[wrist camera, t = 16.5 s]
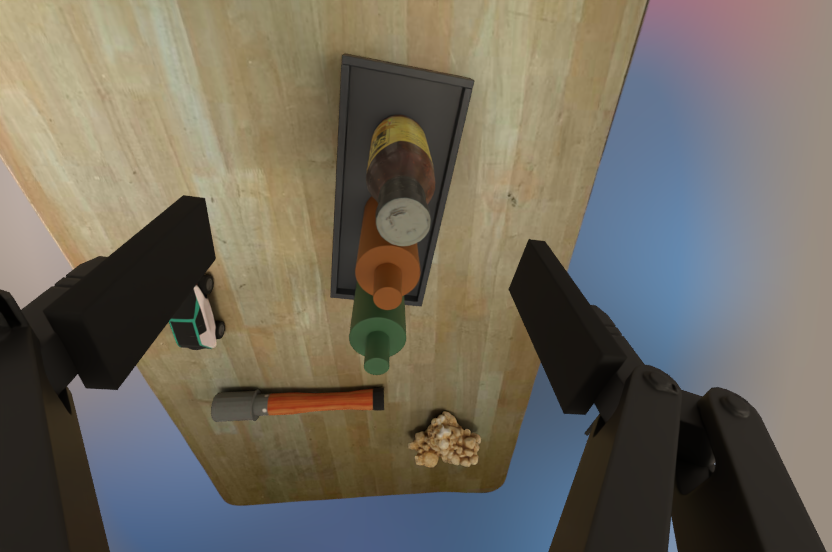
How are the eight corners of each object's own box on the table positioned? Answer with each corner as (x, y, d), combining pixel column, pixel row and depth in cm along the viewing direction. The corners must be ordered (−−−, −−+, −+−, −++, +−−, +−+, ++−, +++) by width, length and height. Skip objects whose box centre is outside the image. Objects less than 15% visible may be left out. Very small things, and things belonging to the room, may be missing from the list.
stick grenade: (383, 394, 63) (206, 402, 60) (384, 420, 65) (211, 429, 62) (383, 378, 68) (220, 385, 66) (383, 402, 70) (224, 410, 67)
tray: (344, 53, 37) (341, 54, 35) (470, 78, 39) (474, 80, 37) (332, 288, 54) (330, 297, 52) (420, 297, 56) (421, 306, 54)
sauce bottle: (375, 108, 39) (364, 164, 23) (430, 118, 40) (457, 180, 24) (368, 166, 43) (355, 250, 26) (419, 174, 44) (436, 261, 27)
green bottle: (360, 248, 49) (347, 342, 34) (406, 253, 50) (412, 347, 35) (356, 285, 53) (343, 384, 38) (399, 289, 54) (402, 388, 39)
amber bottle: (366, 186, 44) (354, 265, 29) (417, 193, 45) (429, 273, 30) (362, 231, 48) (349, 322, 33) (409, 237, 49) (416, 328, 34)
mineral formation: (438, 402, 71) (496, 426, 75) (404, 426, 79) (458, 446, 83) (436, 442, 65) (500, 466, 69) (399, 464, 73) (458, 484, 77)
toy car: (188, 330, 57) (171, 355, 52) (167, 267, 50) (146, 290, 46) (227, 331, 57) (213, 356, 53) (211, 270, 51) (194, 293, 46)
